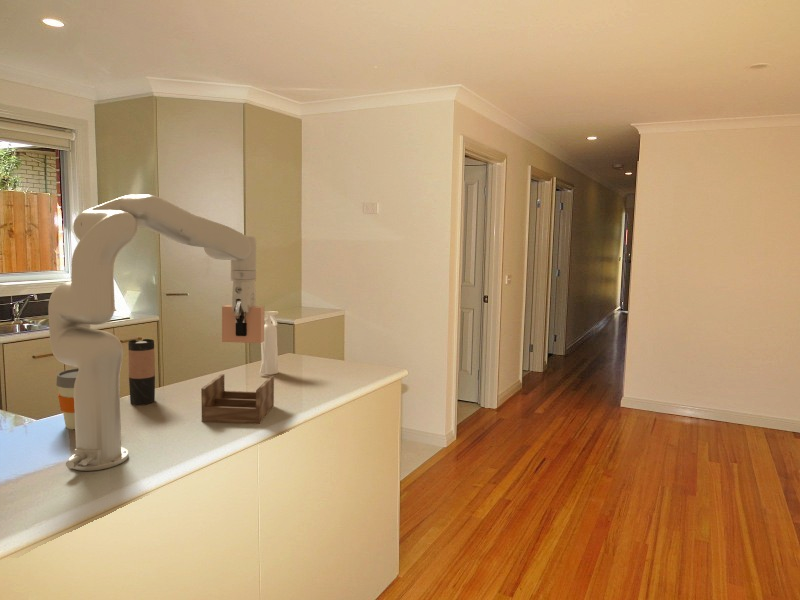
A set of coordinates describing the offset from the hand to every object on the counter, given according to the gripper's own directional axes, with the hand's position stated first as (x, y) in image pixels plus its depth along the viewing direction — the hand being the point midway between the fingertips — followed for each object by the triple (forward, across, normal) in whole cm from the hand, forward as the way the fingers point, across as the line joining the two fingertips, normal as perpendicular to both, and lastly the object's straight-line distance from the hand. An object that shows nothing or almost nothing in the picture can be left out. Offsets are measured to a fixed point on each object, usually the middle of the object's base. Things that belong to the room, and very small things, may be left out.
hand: (243, 333), depth 170 cm
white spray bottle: (+24, +46, +4) cm, 52 cm away
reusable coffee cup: (+24, -18, +40) cm, 50 cm away
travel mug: (+24, +4, +34) cm, 42 cm away
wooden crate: (+24, -4, 0) cm, 25 cm away
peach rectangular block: (+2, 0, 0) cm, 2 cm away
